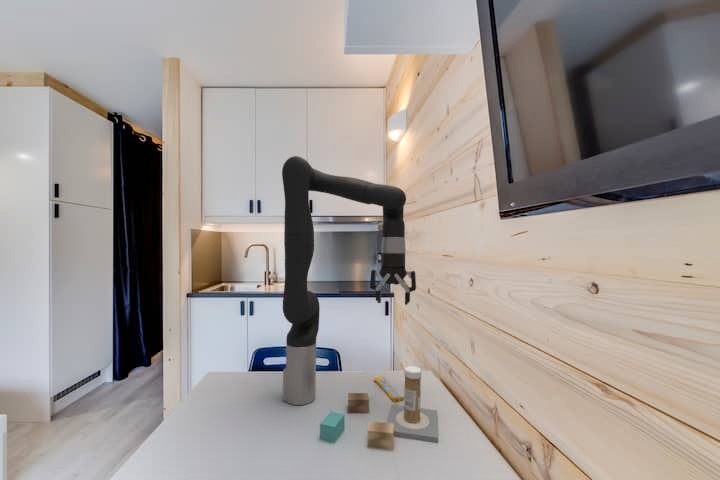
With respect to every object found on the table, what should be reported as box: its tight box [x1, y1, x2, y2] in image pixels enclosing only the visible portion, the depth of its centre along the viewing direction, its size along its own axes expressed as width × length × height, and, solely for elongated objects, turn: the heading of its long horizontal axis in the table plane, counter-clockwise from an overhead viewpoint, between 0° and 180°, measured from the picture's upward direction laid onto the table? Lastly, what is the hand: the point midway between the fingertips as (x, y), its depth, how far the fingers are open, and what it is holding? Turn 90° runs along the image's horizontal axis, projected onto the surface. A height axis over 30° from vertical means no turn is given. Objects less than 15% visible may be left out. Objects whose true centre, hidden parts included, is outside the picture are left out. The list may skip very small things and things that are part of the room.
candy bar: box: [373, 376, 404, 403], centre depth 101 cm, size 17×4×2 cm, turn 19°
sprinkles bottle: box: [403, 365, 422, 423], centre depth 82 cm, size 5×5×14 cm
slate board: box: [386, 403, 439, 444], centre depth 82 cm, size 13×13×1 cm
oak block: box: [367, 420, 395, 451], centre depth 74 cm, size 6×4×4 cm, turn 81°
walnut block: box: [347, 392, 370, 414], centre depth 89 cm, size 6×4×4 cm, turn 92°
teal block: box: [319, 410, 346, 444], centre depth 77 cm, size 4×6×4 cm, turn 159°
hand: (392, 303), depth 95 cm, fingers open, 8 cm apart
